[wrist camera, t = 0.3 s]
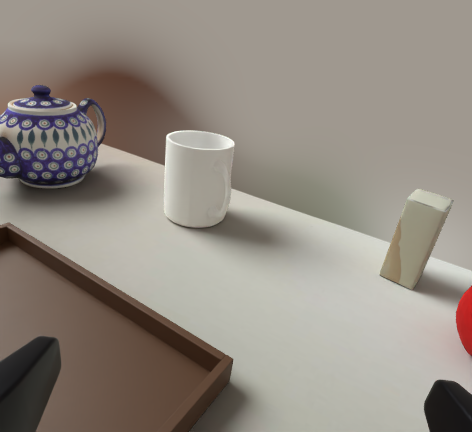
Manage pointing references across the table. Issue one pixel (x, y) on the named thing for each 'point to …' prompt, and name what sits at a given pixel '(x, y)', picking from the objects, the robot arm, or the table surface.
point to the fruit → (465, 320)
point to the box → (415, 237)
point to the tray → (103, 346)
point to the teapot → (49, 140)
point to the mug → (197, 178)
